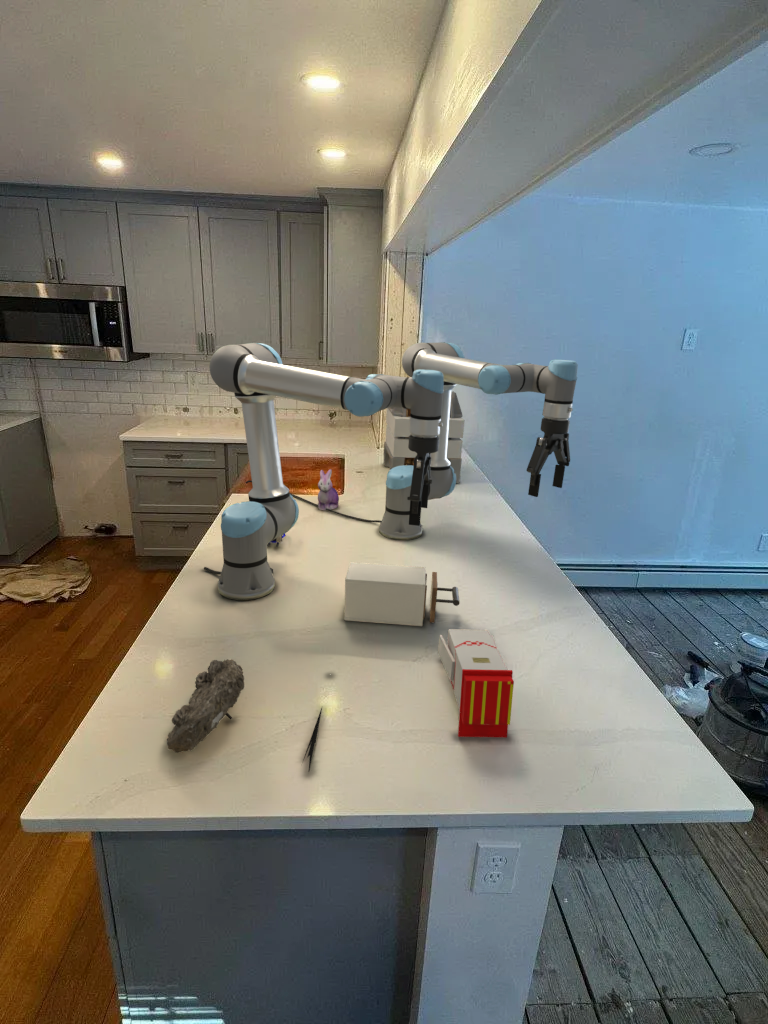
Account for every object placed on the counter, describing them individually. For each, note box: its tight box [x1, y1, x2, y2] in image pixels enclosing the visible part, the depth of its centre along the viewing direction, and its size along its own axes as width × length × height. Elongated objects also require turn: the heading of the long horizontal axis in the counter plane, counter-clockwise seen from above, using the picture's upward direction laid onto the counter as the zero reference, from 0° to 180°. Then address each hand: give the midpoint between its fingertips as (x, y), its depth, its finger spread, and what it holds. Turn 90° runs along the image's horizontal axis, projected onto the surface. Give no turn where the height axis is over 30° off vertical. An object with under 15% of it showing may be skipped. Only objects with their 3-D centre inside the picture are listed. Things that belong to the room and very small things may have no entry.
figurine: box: [317, 468, 340, 511], centre depth 220 cm, size 9×10×15 cm
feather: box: [301, 673, 332, 771], centre depth 108 cm, size 2×28×2 cm
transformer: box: [383, 390, 465, 484], centre depth 268 cm, size 34×33×41 cm
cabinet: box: [343, 561, 427, 627], centre depth 146 cm, size 20×10×12 cm, turn 86°
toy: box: [437, 628, 515, 738], centre depth 117 cm, size 12×13×30 cm
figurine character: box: [267, 533, 287, 548], centre depth 188 cm, size 7×8×15 cm
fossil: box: [166, 658, 245, 754], centre depth 106 cm, size 22×10×15 cm
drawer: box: [423, 571, 461, 624], centre depth 145 cm, size 24×9×10 cm, turn 86°
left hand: (418, 515), depth 147 cm, fingers open, 13 cm apart
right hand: (545, 491), depth 164 cm, fingers open, 13 cm apart
